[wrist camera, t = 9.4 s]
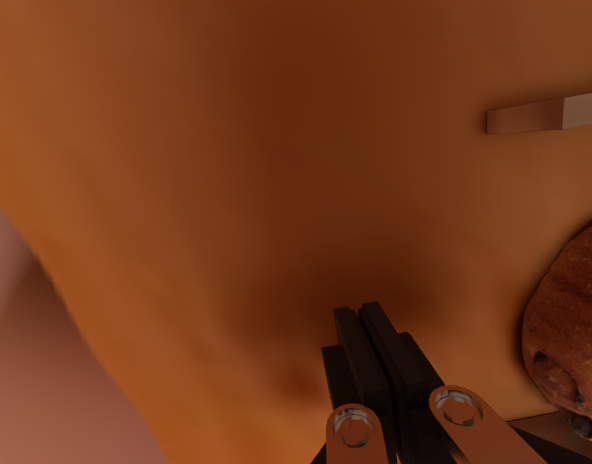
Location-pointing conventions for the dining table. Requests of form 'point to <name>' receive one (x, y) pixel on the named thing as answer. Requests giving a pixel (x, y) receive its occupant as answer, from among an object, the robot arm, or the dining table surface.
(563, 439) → the open rail frame
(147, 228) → the dining table surface
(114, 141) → the dining table surface
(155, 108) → the dining table surface
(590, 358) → the bread roll
